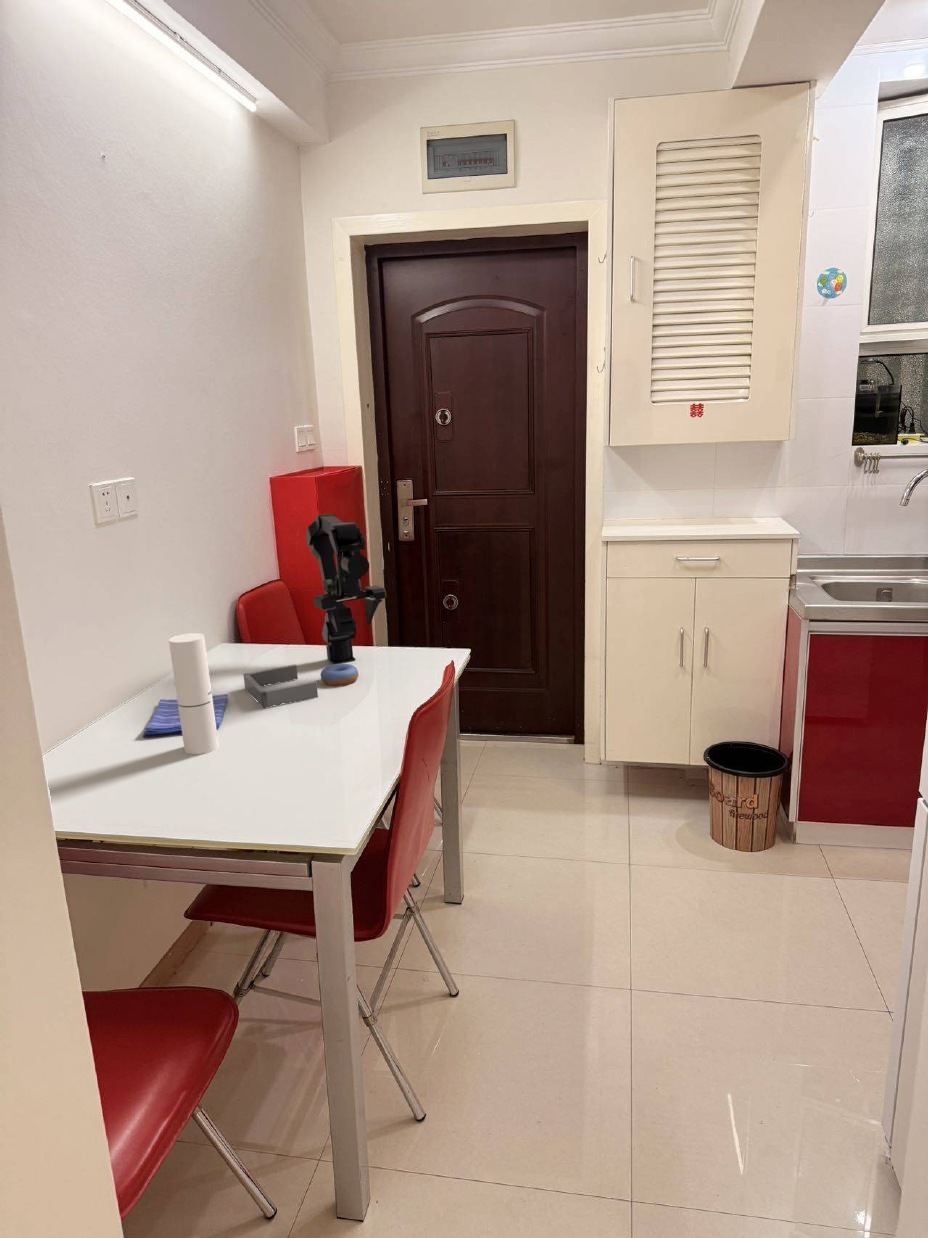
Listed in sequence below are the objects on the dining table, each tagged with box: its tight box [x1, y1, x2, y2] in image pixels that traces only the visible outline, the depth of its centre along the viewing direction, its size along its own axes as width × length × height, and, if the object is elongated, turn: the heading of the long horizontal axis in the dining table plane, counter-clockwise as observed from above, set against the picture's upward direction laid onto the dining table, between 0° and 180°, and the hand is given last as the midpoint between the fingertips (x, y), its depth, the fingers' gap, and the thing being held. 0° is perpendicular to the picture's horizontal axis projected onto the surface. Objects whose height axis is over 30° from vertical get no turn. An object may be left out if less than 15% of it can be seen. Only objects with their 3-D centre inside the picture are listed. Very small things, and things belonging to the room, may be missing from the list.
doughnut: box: [320, 663, 359, 687], centre depth 225 cm, size 10×10×5 cm
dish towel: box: [142, 694, 229, 739], centre depth 204 cm, size 17×24×3 cm
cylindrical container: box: [168, 632, 220, 755], centre depth 181 cm, size 7×7×25 cm
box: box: [243, 664, 319, 709], centre depth 217 cm, size 14×18×4 cm
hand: (353, 628), depth 226 cm, fingers open, 9 cm apart
